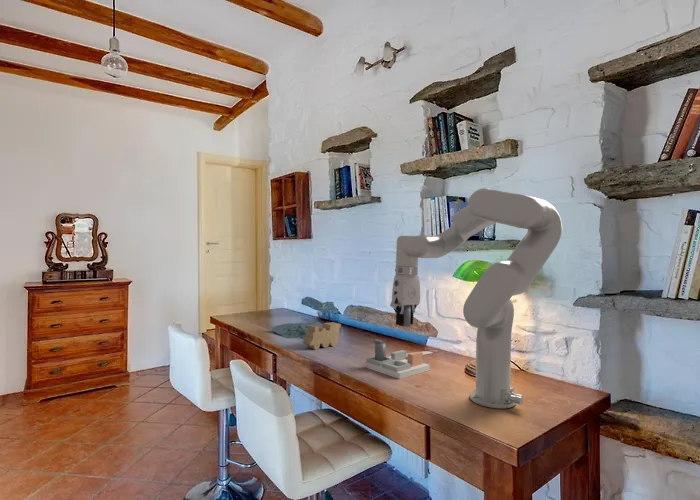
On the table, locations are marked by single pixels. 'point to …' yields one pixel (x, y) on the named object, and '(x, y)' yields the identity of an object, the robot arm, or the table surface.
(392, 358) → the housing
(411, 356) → the latch bar
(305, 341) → the toy train
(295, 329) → the terrain model
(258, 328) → the table surface
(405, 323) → the peg
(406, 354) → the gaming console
